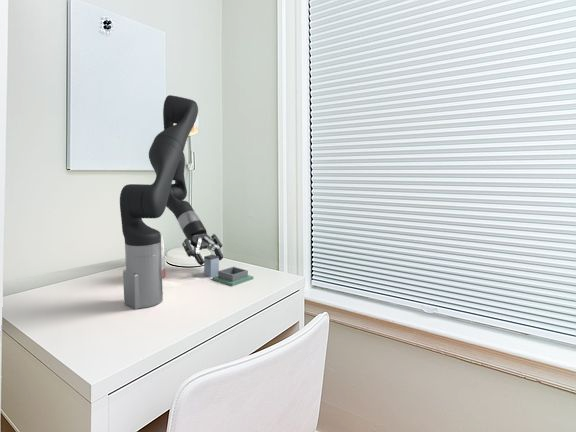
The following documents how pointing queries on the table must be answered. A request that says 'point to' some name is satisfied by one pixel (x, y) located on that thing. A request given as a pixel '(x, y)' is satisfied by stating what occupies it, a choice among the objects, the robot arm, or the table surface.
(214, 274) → the block
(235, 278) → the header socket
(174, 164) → the robot arm
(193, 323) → the table surface
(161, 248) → the ink cartridge box
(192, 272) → the table surface
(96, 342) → the table surface
